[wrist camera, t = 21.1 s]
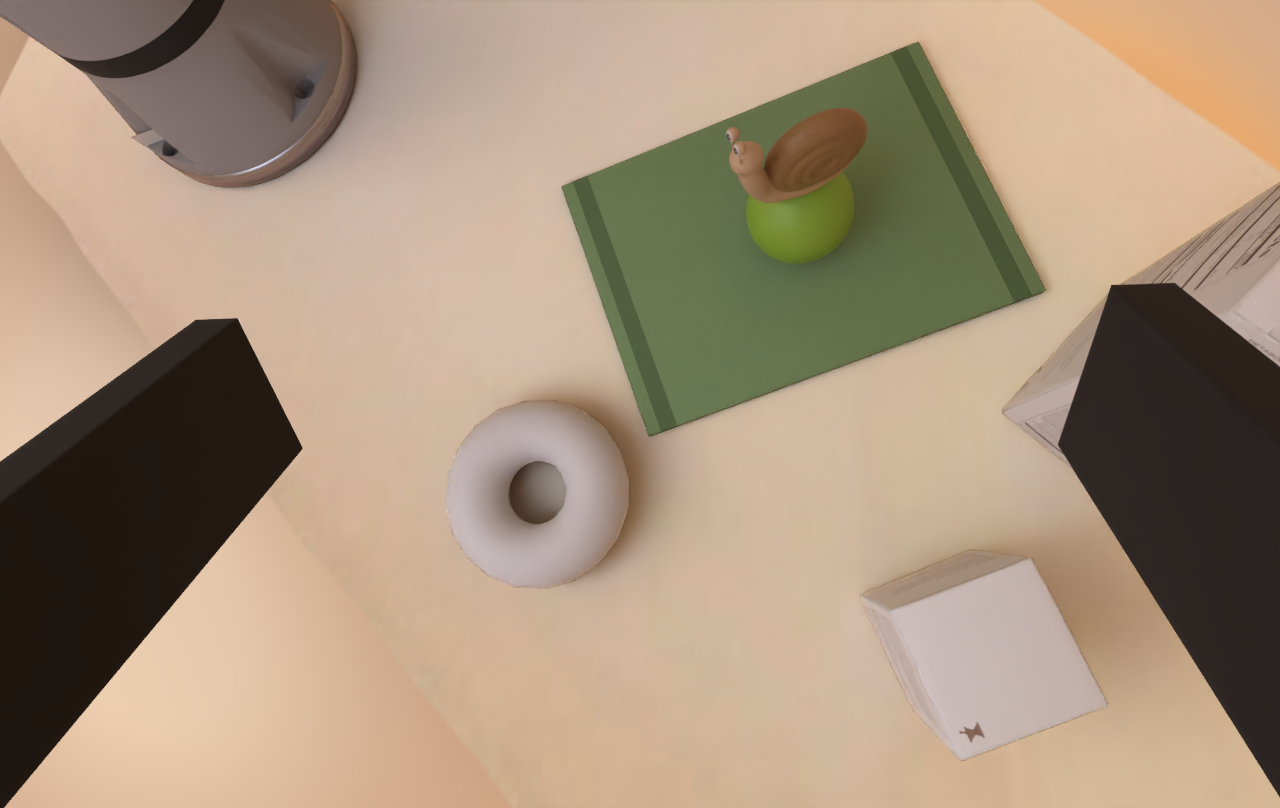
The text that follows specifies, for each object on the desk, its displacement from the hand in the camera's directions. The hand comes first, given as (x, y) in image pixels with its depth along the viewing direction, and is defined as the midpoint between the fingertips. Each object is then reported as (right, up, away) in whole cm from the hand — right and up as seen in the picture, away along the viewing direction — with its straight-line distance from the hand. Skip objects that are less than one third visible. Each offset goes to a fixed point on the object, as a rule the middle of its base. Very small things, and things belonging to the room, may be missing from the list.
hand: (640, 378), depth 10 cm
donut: (-5, -5, +26) cm, 27 cm away
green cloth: (+8, +9, +27) cm, 29 cm away
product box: (+15, -12, +22) cm, 29 cm away
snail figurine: (+8, +9, +26) cm, 29 cm away
